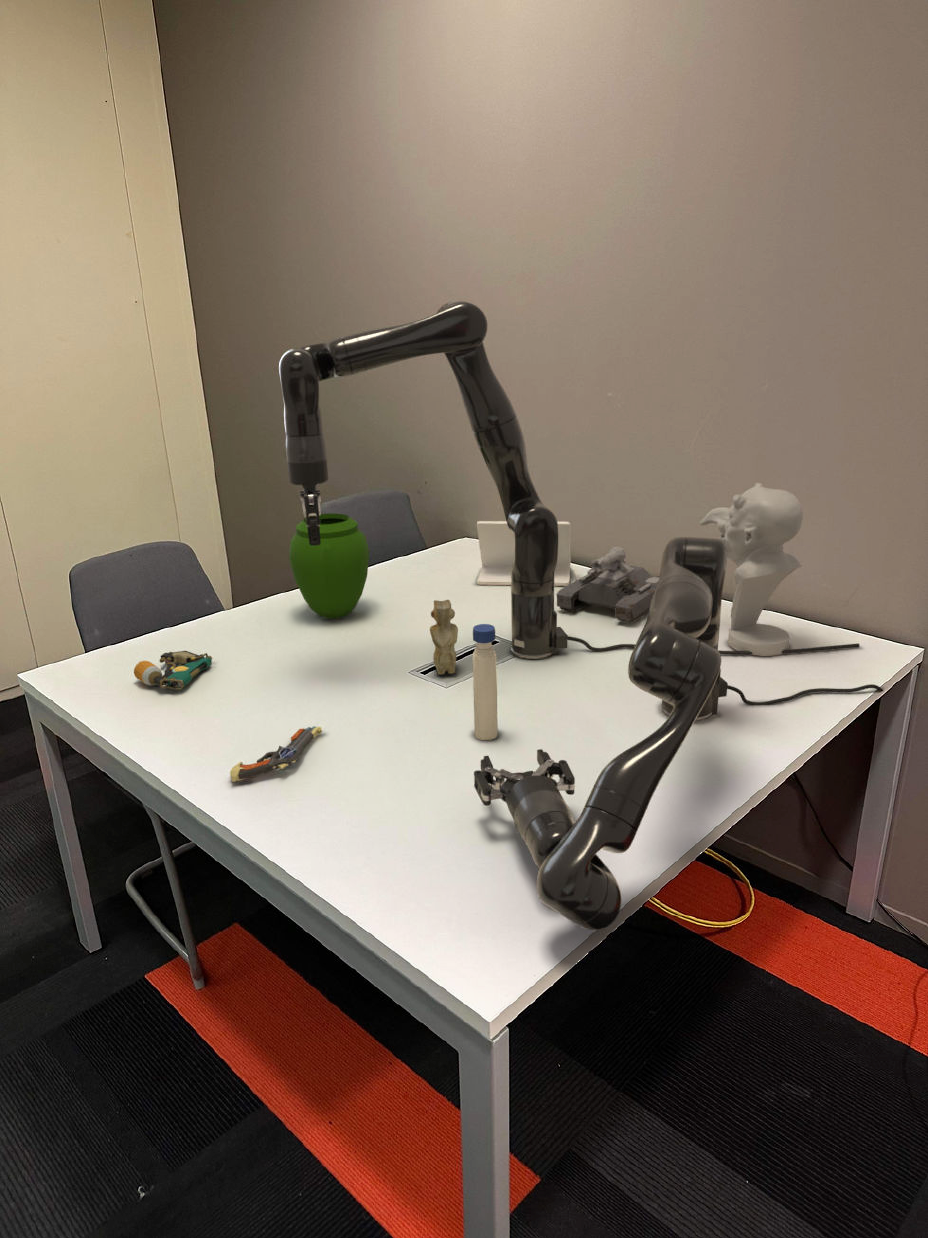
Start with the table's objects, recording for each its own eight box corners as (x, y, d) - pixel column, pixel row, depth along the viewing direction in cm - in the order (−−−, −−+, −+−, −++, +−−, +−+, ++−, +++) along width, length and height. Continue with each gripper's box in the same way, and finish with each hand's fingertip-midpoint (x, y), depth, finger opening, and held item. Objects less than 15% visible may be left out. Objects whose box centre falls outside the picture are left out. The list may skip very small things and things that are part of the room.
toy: (603, 584, 229) (605, 530, 224) (673, 597, 218) (677, 540, 213) (555, 612, 210) (556, 553, 205) (630, 627, 199) (633, 566, 194)
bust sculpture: (728, 615, 205) (741, 470, 193) (809, 647, 185) (829, 488, 173) (677, 628, 198) (686, 478, 186) (755, 663, 178) (772, 498, 166)
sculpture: (458, 662, 183) (456, 596, 178) (460, 676, 176) (457, 608, 171) (431, 663, 183) (428, 597, 177) (431, 677, 176) (428, 609, 171)
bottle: (478, 742, 150) (476, 635, 143) (471, 731, 154) (468, 627, 147) (500, 738, 152) (499, 632, 144) (493, 727, 155) (491, 624, 148)
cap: (477, 644, 144) (476, 633, 143) (470, 637, 148) (469, 625, 147) (498, 641, 145) (498, 630, 144) (490, 634, 149) (490, 622, 148)
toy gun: (224, 771, 138) (281, 769, 136) (271, 724, 156) (322, 721, 154) (228, 786, 139) (285, 784, 137) (273, 737, 157) (324, 735, 155)
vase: (389, 608, 216) (383, 514, 208) (339, 633, 201) (330, 533, 192) (330, 596, 226) (322, 506, 218) (278, 619, 211) (267, 523, 202)
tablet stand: (569, 585, 229) (570, 524, 223) (476, 584, 232) (475, 523, 226) (570, 566, 246) (571, 508, 240) (484, 564, 249) (483, 507, 243)
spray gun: (177, 659, 191) (231, 671, 185) (120, 684, 176) (176, 698, 171) (176, 641, 190) (230, 653, 184) (118, 665, 175) (174, 678, 169)
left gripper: (328, 462, 158) (335, 547, 164) (324, 450, 171) (331, 529, 177) (287, 465, 157) (295, 550, 162) (286, 452, 170) (294, 532, 176)
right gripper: (591, 784, 117) (556, 730, 132) (490, 798, 115) (466, 741, 130) (590, 831, 120) (556, 773, 135) (491, 845, 117) (468, 784, 132)
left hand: (314, 539), depth 170 cm, fingers open, 8 cm apart
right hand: (512, 757), depth 132 cm, fingers open, 8 cm apart
